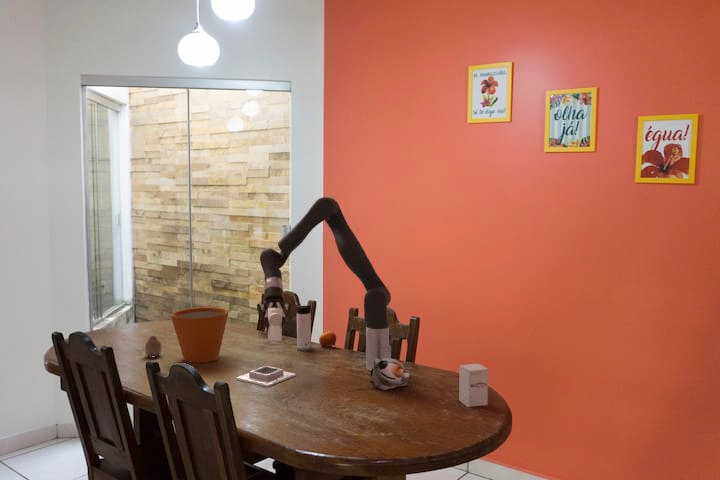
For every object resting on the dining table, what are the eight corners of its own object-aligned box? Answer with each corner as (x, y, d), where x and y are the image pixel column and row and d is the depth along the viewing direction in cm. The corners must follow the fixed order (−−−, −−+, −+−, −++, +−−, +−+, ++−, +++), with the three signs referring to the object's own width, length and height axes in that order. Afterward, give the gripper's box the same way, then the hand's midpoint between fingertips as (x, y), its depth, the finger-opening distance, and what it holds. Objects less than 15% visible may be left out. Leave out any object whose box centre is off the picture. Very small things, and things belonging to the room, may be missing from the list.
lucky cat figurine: (412, 382, 228) (418, 355, 221) (400, 403, 219) (406, 376, 211) (376, 367, 233) (380, 340, 225) (363, 387, 223) (367, 360, 216)
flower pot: (160, 361, 257) (158, 315, 255) (199, 348, 278) (198, 305, 276) (203, 369, 246) (201, 320, 244) (240, 355, 267) (239, 310, 265)
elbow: (267, 337, 237) (267, 307, 236) (281, 337, 238) (281, 307, 237) (268, 343, 229) (268, 312, 228) (282, 343, 230) (282, 312, 229)
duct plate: (295, 375, 237) (295, 368, 237) (268, 386, 224) (268, 379, 223) (265, 369, 246) (264, 362, 245) (236, 379, 232) (236, 372, 232)
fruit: (332, 346, 275) (325, 330, 276) (320, 353, 279) (314, 337, 281) (343, 343, 281) (336, 327, 283) (332, 349, 285) (325, 333, 287)
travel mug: (309, 351, 273) (308, 307, 271) (295, 350, 274) (294, 306, 272) (313, 347, 279) (312, 304, 277) (299, 346, 280) (298, 303, 278)
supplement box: (468, 408, 202) (468, 370, 200) (458, 400, 209) (458, 364, 208) (488, 405, 204) (488, 368, 203) (477, 398, 211) (478, 362, 210)
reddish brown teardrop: (164, 354, 268) (163, 334, 267) (157, 358, 261) (157, 338, 261) (149, 353, 269) (148, 334, 268) (142, 358, 262) (141, 338, 261)
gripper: (255, 286, 239) (256, 322, 229) (292, 285, 242) (294, 321, 231) (255, 296, 245) (256, 333, 234) (291, 296, 248) (293, 332, 237)
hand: (275, 327), depth 233 cm, fingers closed on elbow, 5 cm apart
